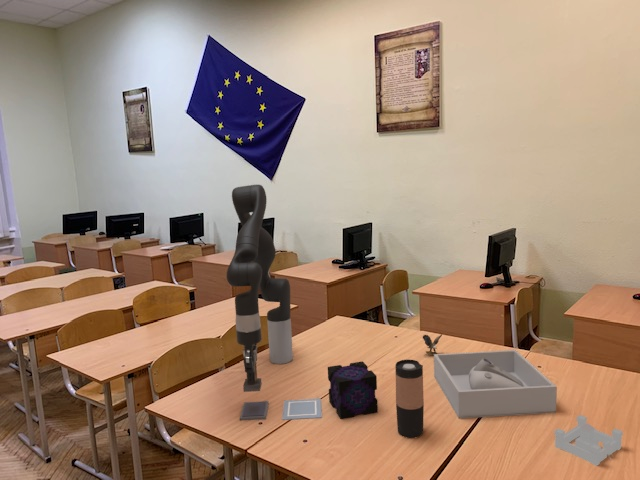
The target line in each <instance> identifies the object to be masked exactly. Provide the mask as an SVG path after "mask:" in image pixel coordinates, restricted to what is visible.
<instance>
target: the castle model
mask: <svg viewBox="0 0 640 480" xmlns="http://www.w3.org/2000/svg"><path fill="white" fill-rule="evenodd" d="M576 421H577V425H576V426H575V427H573V428H572V429H570V430H569V431H566V430H563V429H561V428H558V427H557V428H556V429H554V431H553V434H554V435H555V436H554V437H555V438H554V447H555V448H556V449H559V450H562V451H565V452H567V453H569V454H571V455H574V456H576V457H578V458H579V459H582V460H584V461H587V462H588V463H590V464H592V465H594V466H598V465H600V464H601V462H602V461H604V460H605V459H607V457H608V456H610V455H612V457H614V455H613V453H616V451H619V450H620V449H622V439H623V438H622V436H623V435H624V431H623V430H620V429H618V428H616V427H615V428H614V429H612V430H611V434H607V433H605V432H602V431H600V430H598V429H596V428H595V427H594V426H593V425H591V424H590V423H588V422H587V421H588V417H587V416H584V415H581V414H579V415H577V416H576ZM572 441H574V443H575V444H572V443H571V442H572ZM601 442H602V443H603V444H602V443H601ZM599 443H601V444H602V445H599ZM609 459H610V460H612V458H611V457H609Z"/></svg>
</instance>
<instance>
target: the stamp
mask: <svg viewBox="0 0 640 480" xmlns="http://www.w3.org/2000/svg"><path fill="white" fill-rule="evenodd" d="M256 363H257V362H256ZM256 363H255V364H254V369H255V370H254V372H255V382H254V383H248V379H247V378H245V379H244V383H243V385H242V386H243V388H242V389H243V392H244V393H247V392H248V393H249V392H251V393H252V392H260V391H261V388H262V384H263V383H262V377H258V370H257V364H256ZM248 368H251V367H248ZM245 374H247V372H245Z"/></svg>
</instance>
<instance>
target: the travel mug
mask: <svg viewBox="0 0 640 480" xmlns="http://www.w3.org/2000/svg"><path fill="white" fill-rule="evenodd" d="M423 366H424V365H423V364H420V362H419V361H418V360H415V359H402V360H399V361H397V362H396V363H395V365H394V367H395V368H394V369H395V406H396V424H397V426H396V427H397V432H398V434H399V436H401V435H402V437H403V436H404V438H406V437H407V439H416V438H415V437H417V438H420V437H421V436H422V435H423V434H424V406H425V405H424V402H425V401H424V372H423V371H424V369H423V368H424V367H423Z"/></svg>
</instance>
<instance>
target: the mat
mask: <svg viewBox="0 0 640 480" xmlns="http://www.w3.org/2000/svg"><path fill="white" fill-rule="evenodd" d="M282 408H283V409H282V418H281V419H282V420H283V421H285V420H286V421H290V420H309V419H311V420H312V419H313V420H314V419H322V418H323V417H322V414H323V413H322V399H321V398H307V399H306V398H304V399H302V398H301V399H288V400H283V407H282Z"/></svg>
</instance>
